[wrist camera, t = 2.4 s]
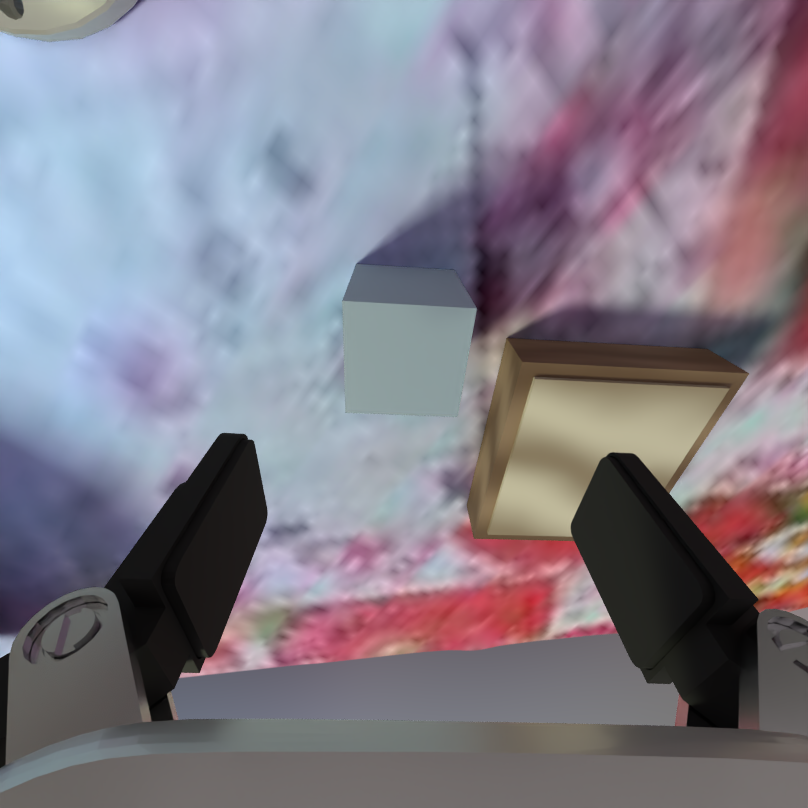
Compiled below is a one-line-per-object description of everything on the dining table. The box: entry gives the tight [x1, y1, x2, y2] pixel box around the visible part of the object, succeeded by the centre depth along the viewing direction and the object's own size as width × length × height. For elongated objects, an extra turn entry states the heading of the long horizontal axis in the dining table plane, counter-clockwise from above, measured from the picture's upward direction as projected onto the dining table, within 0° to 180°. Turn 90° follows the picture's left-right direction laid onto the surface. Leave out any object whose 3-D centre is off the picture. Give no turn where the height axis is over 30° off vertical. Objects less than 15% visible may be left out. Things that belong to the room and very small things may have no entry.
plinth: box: [467, 338, 749, 541], centre depth 23 cm, size 14×12×3 cm
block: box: [342, 264, 477, 417], centre depth 17 cm, size 5×5×6 cm
